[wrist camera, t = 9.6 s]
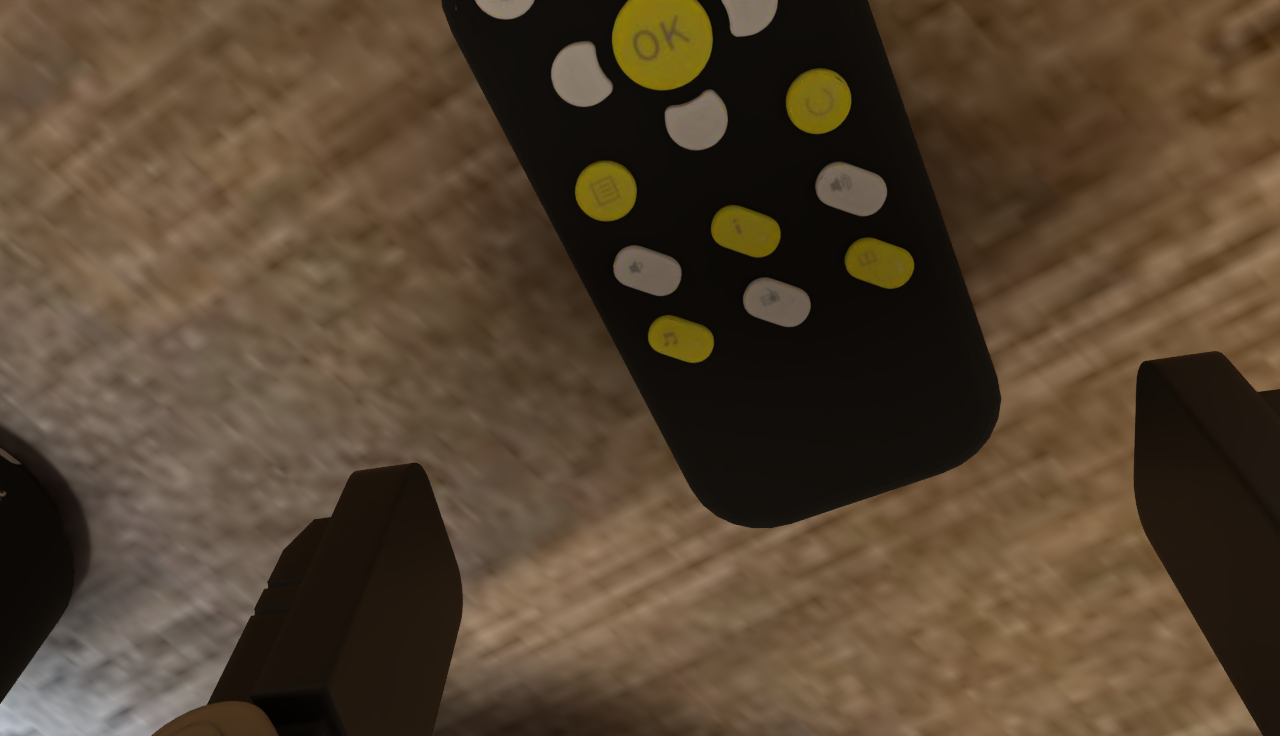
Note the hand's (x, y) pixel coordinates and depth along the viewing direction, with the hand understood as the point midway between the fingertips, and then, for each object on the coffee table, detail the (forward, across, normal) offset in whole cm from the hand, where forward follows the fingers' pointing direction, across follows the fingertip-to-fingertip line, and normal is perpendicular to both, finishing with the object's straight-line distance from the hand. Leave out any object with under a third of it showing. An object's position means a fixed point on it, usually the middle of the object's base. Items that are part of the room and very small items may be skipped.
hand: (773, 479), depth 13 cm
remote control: (+9, 0, 0) cm, 9 cm away
